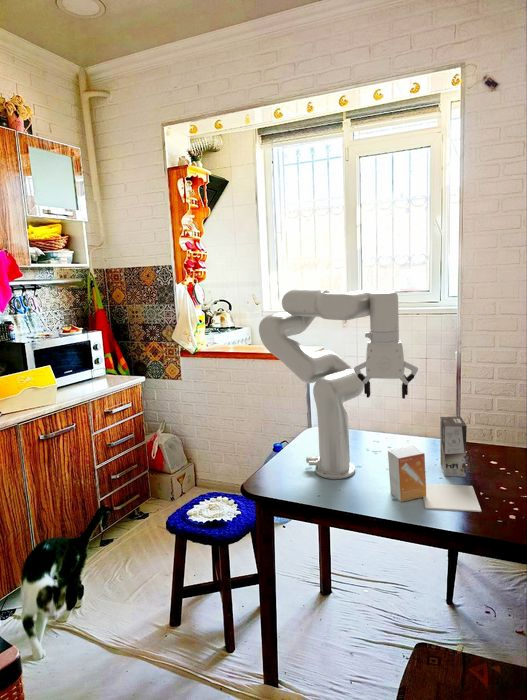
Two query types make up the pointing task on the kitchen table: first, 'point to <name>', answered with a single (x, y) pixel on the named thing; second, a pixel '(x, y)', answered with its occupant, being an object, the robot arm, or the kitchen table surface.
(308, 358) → the robot arm
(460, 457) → the coffee box
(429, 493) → the mat
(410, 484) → the small box
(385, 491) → the kitchen table surface
